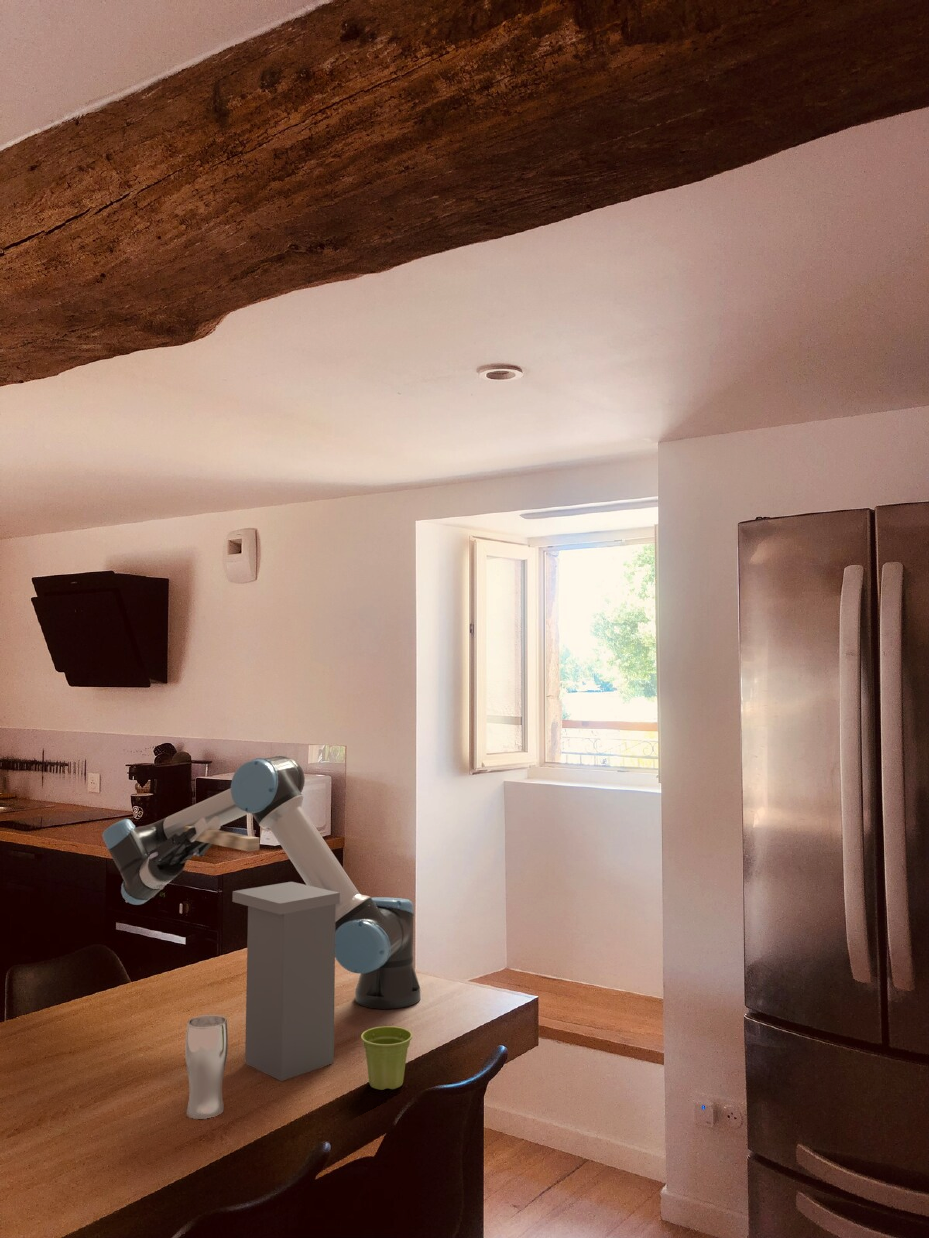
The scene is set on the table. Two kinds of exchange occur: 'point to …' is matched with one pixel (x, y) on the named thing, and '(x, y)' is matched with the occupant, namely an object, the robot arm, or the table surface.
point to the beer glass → (206, 1064)
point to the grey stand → (289, 978)
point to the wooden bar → (228, 839)
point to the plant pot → (386, 1055)
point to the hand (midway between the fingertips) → (211, 823)
